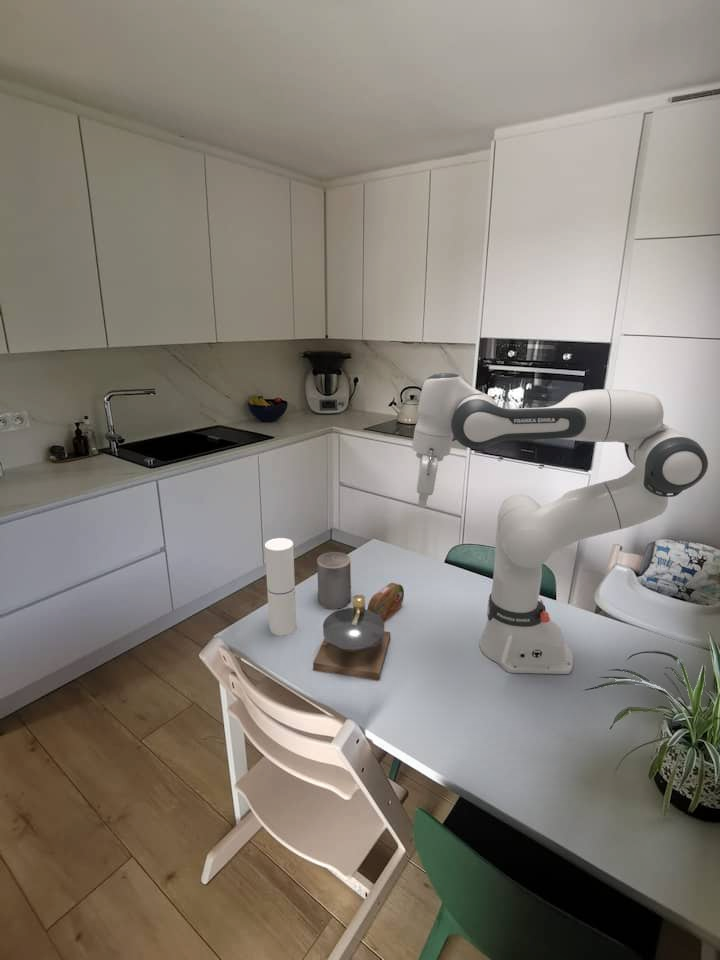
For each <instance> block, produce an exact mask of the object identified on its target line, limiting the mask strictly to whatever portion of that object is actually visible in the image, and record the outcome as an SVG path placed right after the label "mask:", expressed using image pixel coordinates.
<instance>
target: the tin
mask: <svg viewBox="0 0 720 960" xmlns="http://www.w3.org/2000/svg"><path fill="white" fill-rule="evenodd" d="M404 592H405V591H404V587H403V585H402V584H398V583H395V582H391V583H388V584H387V585H386V586H384V587H383V588H381V589H380V590H379V591H378V592H376V593H375V594H374V595H372V597H371V599H370V600H369V602H368V605H367V608H366V610H369V611H372V612H374V613H376V614H377V615H378V616H379V617H380V618H381V619H382V620H383V622H384V623H385V622H386V621H387V620H389V619H390V618H391V617H393V615H395V614H396V613H397V612H398V611H399V610H400V609H401V606H402V604H403V601H404V595H405V593H404Z"/></svg>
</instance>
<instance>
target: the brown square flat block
mask: <svg viewBox="0 0 720 960" xmlns="http://www.w3.org/2000/svg"><path fill="white" fill-rule="evenodd" d="M390 640H391V631H385V630H384V637H383V639H382V641H381V642H380V643H379V644H378V645H377V646H375V647H373V648H371V649H369V650H365V651H360V652H347V651H342V650H339V649H336V648H334V647H332V646H331V645H329V644H328V643H327V642H326V640H325V639H323V641H322V642H321V645H320V647H319V649H318V651H317V654H316V655H315V658H314V660H313V662H312V665H313V667H312V668H313V669H312V670H313V671H318V672H319V671H320V672H325V673H331V674H338V675H344V676H348V677H349V676H350V677H356V678H361V679H362V678H363V679H368V680H374V681H380V678H381V675H382V671H383V668H384V667H383V666H384V663H385V660H386V655H387V653H388V652H387V651H388V647H389V644H390Z"/></svg>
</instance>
